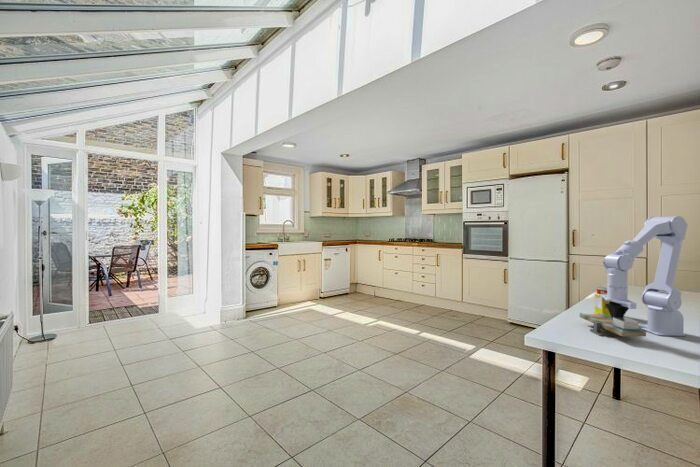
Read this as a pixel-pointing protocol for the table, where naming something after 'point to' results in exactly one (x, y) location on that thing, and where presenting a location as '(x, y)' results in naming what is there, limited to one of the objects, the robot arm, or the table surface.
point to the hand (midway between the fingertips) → (617, 323)
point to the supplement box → (601, 305)
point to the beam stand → (602, 330)
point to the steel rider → (625, 324)
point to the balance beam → (610, 324)
